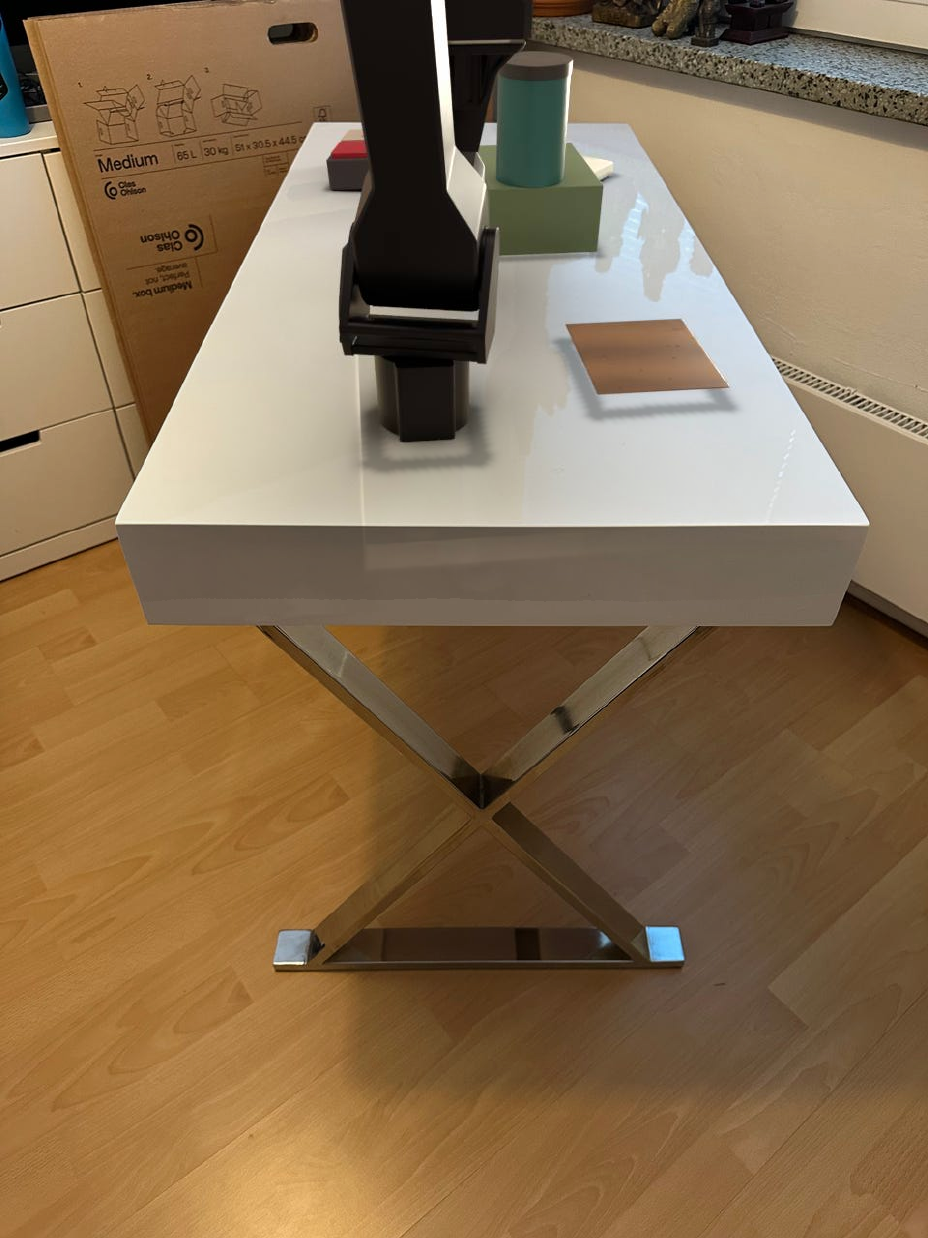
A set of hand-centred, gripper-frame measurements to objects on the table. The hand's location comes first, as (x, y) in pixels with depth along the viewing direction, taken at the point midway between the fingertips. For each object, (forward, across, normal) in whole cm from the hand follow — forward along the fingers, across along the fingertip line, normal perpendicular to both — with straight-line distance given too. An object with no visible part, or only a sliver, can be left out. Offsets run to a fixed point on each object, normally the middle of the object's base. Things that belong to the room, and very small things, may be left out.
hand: (459, 143), depth 59 cm
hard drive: (+13, +36, -14) cm, 41 cm away
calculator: (+13, +40, +2) cm, 42 cm away
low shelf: (+13, -9, -12) cm, 20 cm away
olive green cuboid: (+13, +21, -9) cm, 26 cm away
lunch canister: (+7, +17, -8) cm, 20 cm away
